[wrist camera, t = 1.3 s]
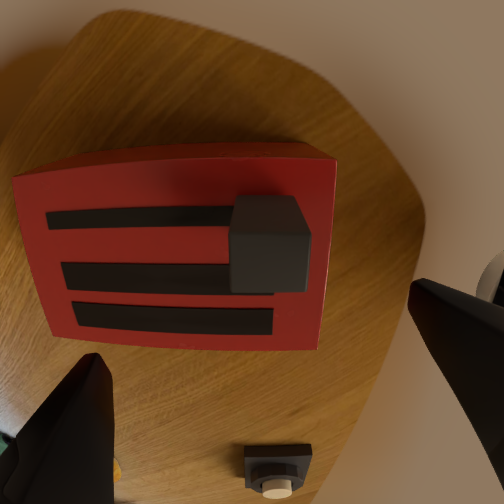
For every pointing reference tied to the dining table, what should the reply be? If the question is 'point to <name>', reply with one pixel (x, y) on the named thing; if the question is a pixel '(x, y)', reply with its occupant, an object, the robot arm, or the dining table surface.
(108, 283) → the toaster
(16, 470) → the robot arm
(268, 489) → the button
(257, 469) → the block
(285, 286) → the slider
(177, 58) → the dining table surface
